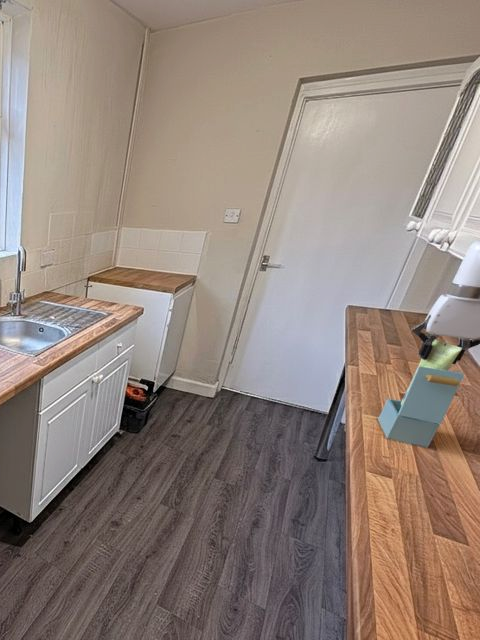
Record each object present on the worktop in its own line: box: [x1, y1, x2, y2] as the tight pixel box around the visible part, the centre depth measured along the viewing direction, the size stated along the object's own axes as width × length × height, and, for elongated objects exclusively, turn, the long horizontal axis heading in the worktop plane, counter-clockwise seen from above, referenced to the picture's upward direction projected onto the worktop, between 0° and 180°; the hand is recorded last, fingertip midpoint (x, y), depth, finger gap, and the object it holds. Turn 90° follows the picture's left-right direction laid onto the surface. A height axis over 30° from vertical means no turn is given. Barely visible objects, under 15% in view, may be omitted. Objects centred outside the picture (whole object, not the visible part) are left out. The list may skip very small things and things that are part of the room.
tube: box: [401, 339, 462, 406], centre depth 112 cm, size 6×5×20 cm
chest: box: [377, 398, 440, 449], centre depth 117 cm, size 13×8×8 cm, turn 146°
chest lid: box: [398, 365, 465, 425], centre depth 107 cm, size 14×8×5 cm
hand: (437, 359), depth 110 cm, fingers closed on tube, 4 cm apart
